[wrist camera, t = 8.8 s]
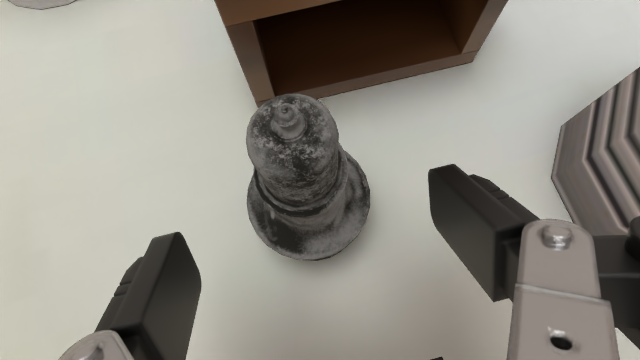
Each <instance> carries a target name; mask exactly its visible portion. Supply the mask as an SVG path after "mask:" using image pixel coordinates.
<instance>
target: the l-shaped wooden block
mask: <svg viewBox="0 0 640 360" xmlns="http://www.w3.org/2000/svg"><path fill="white" fill-rule="evenodd" d="M214 1H215V3H216V6H217V8H218V11H219V13H220V16H221V18H222V21H223V23H224V25H225V28H226V31H227V33H228V35H229V38H230V40H231V43H232V45H233V48H234V50H235V53H236V55H237V58H238V60H239V62H240V65H241V67H242V70H243V72H244V75H245V77H246V80H247V82H248V85H249V87H250V89H251V92H252V94H253V97H254V99H255V102H256V104H257V107H258V108H259V107H260V106H262V105H263V104H264V103H265V102H266V101H268V100H270V99H272V98H274V97H276V96H280V95H285V94H302V95H306V96H310V97H312V98H314V99H317V98H321V97H326V96H330V95H334V94H338V93H342V92H347V91H351V90H355V89H359V88H364V87H368V86H372V85H376V84H381V83H385V82H389V81H393V80H397V79H402V78H406V77H410V76H414V75H419V74H423V73H427V72H431V71H436V70H440V69H444V68H448V67H452V66H457V65H461V64H465V63H469V62H472V61H473V60H474V58H475V56H476V54H477V53H478V51H479V49H480V48H481V46H482V44H483V42H484V41H485V39H486V37H487V36H488V34H489V32H490V30H491V29H492V27H493V25H494V24H495V22H496V20H497V18H498V17H499V15H500V13H501V12H502V10H503V8H504V6H505V5H506V3H507V1H508V0H214Z"/></svg>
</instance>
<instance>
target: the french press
mask: <svg viewBox="0 0 640 360" xmlns="http://www.w3.org/2000/svg"><path fill="white" fill-rule="evenodd" d="M8 1H10V2H12V3H13V4H15V5H16V6H21V7H28V8H35V9H45V8H50V7H56V6H62V5H67V4H69V3H71V2H73V1H75V0H8Z"/></svg>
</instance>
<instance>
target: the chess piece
mask: <svg viewBox="0 0 640 360" xmlns="http://www.w3.org/2000/svg"><path fill="white" fill-rule="evenodd" d="M338 138H339V133H338V130H337V126H336V123H335V121H334V119H333V117H332V115H331V114H330V112H329V110H328V109H327V108H326V107H325V106H324V105H323V104H322V103H321V102H319V101H317V100H316V99H314V98H312V97H310V96H306V95H302V94H285V95H280V96H276V97H274V98H272V99H270V100H268V101H266V102H265V103H264V104H263V105H262V106H260V107H259V108H258V109H257V111H256V112H255V113H254V115H253V116H252V117H251V120H250V122H249V125H248V128H247V136H246V144H247V150H248V155H249V157H250V159H251V161H252V163H253V165H254V174H253V177H252V179H251V182H250V184H249V187H248V195H247V208H248V214H249V219H250V221H251V223H252V225H253V227H254V229H255V232H256V233H257V235H258V236H259V237H260V238H261V239H262V240H263V241H264V242H265V244H266V245H267V246H269V247H270V248H272V249H274V250H275V251H277V252H278V253H280V254H281V255H285V256H288V257H291V258H294V259H302V260H315V261H317V260H321V259H326V258H330V257H331V256H333V255H335V254H337V253H339V252H340V251H341V250H342V249H344V248H346V247H347V246H348V245H349V244H350V243H351V242H352V241H353V240H354V239H355V238H356V237H357V236H358V234H359V232H360V231H361V229H362V227H363V226H364V224H365V222H366V219H367V215H368V212H369V208H370V189H369V186H368V182H367V179H366V175H365V174H364V172H363V170H362V169H361V167H360V166H359V164H358V162H357V161H356V160H355V159H353V158H352V157H351V156H350V155H349V154H348V153H347V152H346V151H344V150H343V149H342V147H341V145H340V144H339V142H338Z"/></svg>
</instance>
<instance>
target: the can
mask: <svg viewBox="0 0 640 360" xmlns="http://www.w3.org/2000/svg"><path fill="white" fill-rule="evenodd" d="M551 179H552V181H553V183H554V185H555V187H556V189H557V191H558V193H559V194H560V196H561V198H562V200H563V202H564V204H565V206H566V208H567V210H568V212H569V214H570V216H571V218H572V220H573V222H574V224H576V225H578V226H580V227H582V228H584V229H585V230H586V231H588V232H589V233H590V234H591V236H603V235H627V233H628V228H629V224H630V222H631V220H632V219H634V218H635V217H638V216H640V67H639V68H638V69H636V70H635V71H634V72H632V73H631V74H630V75H628V76H627V77H626V78H624V79H623V80H622V81H620V82H619V83H618V84H616V85H615V86H614V87H613V88H611V89H610V90H609V91H607V92H606V93H605V94H603V95H602V96H601V97H599V98H598V99H597V100H595V101H594V102H593V103H591V104H590V105H589V106H587V107H586V108H585V109H583V110H582V111H581V112H579V113H578V114H577V115H575V116H574V117H573V118H571V119H570V120H569V121H567V122H566V123H565V124H564V125H562V126H561V130H560V135H559V141H558V146H557V151H556V156H555V161H554V166H553V171H552V176H551Z"/></svg>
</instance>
